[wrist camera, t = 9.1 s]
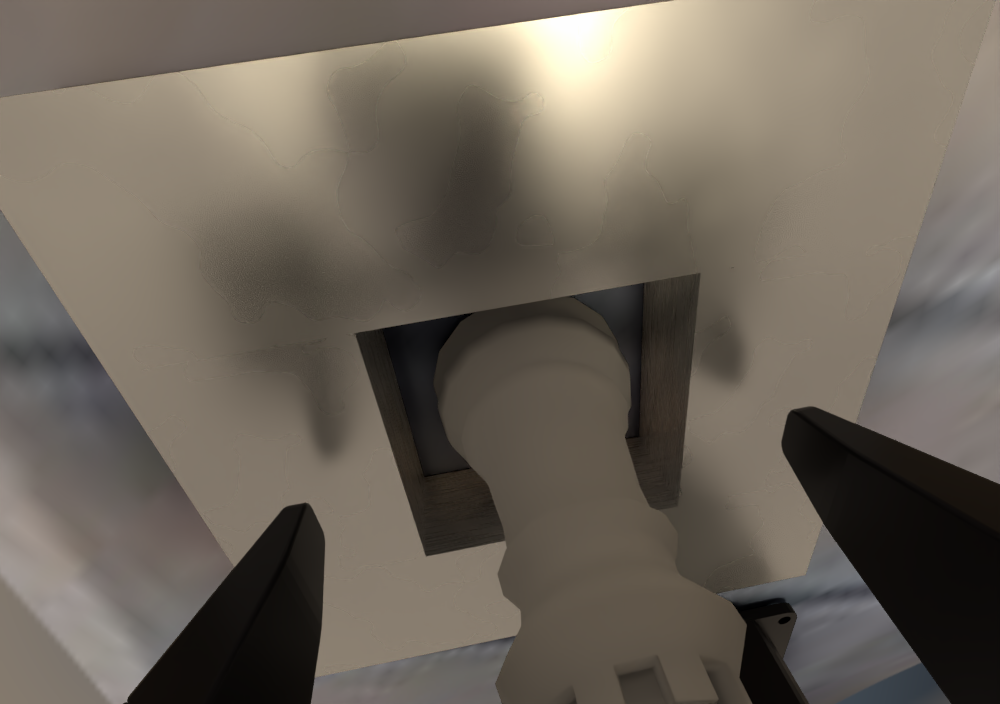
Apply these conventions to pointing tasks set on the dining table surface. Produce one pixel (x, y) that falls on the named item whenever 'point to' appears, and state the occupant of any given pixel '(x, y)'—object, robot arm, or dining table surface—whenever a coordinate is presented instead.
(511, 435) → the rook chess piece
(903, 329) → the dining table surface
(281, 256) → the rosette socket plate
